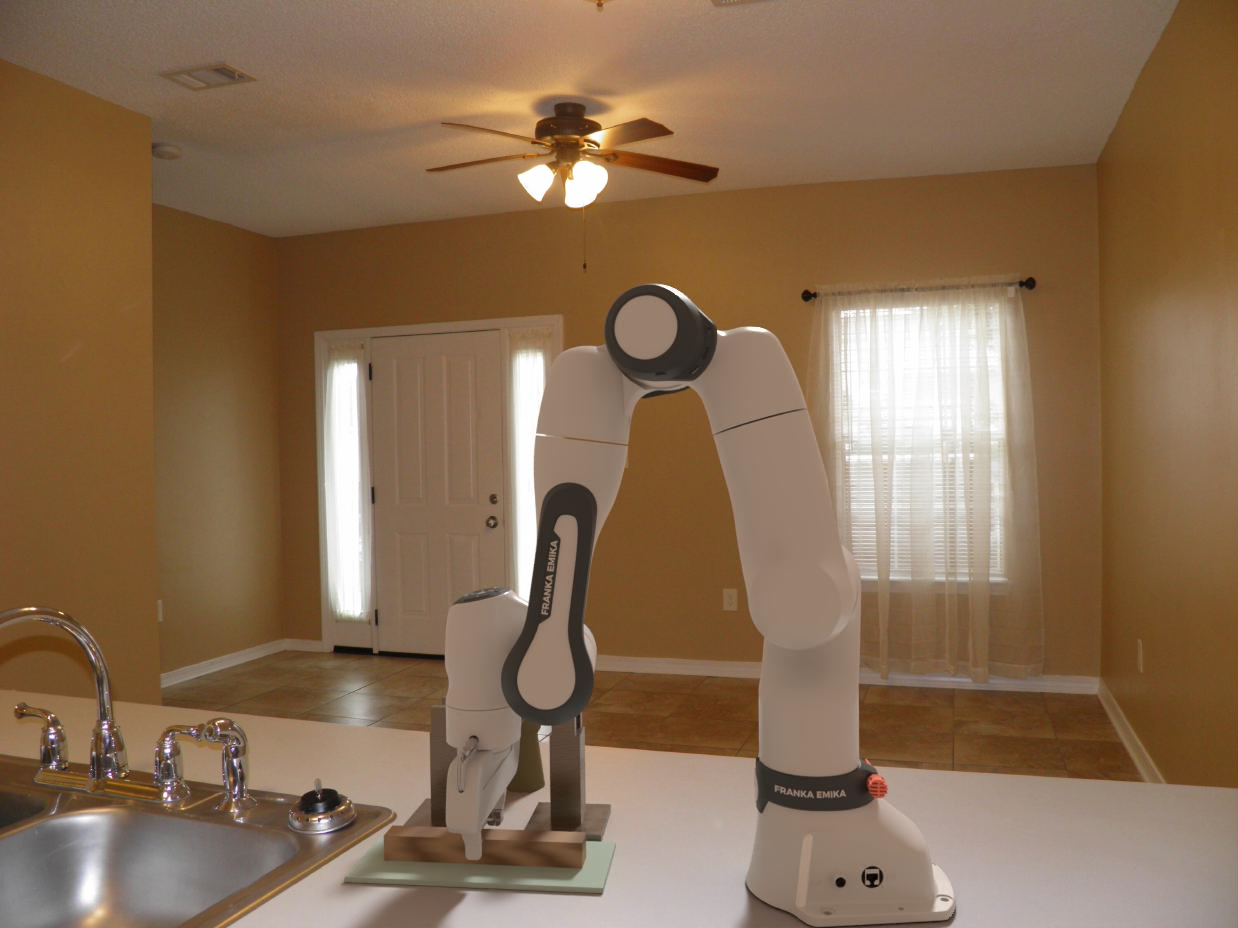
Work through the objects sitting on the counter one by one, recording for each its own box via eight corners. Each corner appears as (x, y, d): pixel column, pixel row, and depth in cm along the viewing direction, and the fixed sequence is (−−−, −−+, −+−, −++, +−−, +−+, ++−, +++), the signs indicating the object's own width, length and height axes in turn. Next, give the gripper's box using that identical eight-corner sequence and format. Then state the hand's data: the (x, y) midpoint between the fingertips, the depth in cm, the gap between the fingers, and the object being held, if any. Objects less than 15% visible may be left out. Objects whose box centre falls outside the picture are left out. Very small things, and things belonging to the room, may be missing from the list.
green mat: (615, 846, 115) (615, 841, 115) (603, 893, 103) (602, 887, 103) (383, 837, 118) (383, 833, 118) (344, 881, 106) (344, 876, 106)
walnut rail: (586, 856, 110) (585, 832, 110) (582, 868, 107) (582, 842, 107) (393, 849, 113) (392, 825, 113) (384, 860, 110) (383, 835, 110)
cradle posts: (610, 811, 126) (609, 694, 125) (601, 842, 116) (599, 715, 115) (426, 805, 129) (424, 690, 128) (401, 835, 119) (399, 711, 119)
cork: (525, 795, 132) (524, 718, 132) (495, 786, 136) (494, 712, 135) (553, 782, 137) (552, 709, 137) (523, 774, 140) (522, 702, 140)
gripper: (486, 754, 99) (488, 881, 100) (527, 702, 120) (529, 807, 120) (430, 752, 100) (432, 878, 100) (480, 701, 120) (481, 806, 121)
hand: (485, 839), depth 110 cm, fingers open, 8 cm apart
